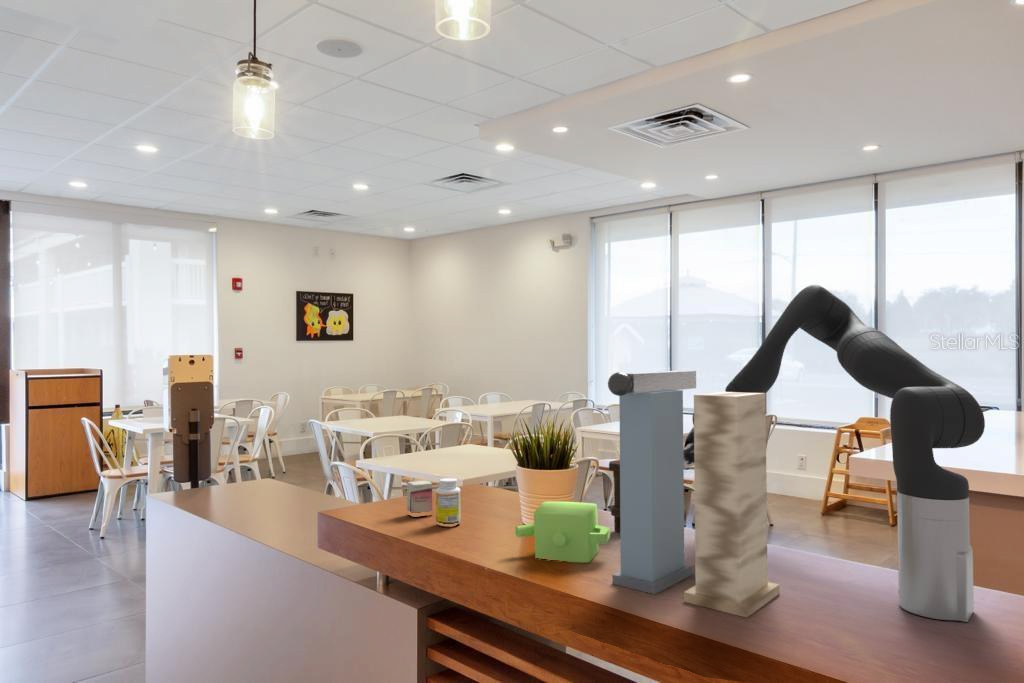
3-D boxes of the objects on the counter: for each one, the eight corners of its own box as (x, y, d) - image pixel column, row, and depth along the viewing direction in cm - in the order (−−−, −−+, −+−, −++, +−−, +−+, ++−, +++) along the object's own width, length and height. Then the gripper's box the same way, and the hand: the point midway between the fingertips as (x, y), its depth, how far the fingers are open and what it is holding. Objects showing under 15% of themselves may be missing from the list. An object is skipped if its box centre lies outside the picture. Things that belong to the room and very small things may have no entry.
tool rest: (779, 593, 110) (777, 393, 111) (746, 617, 101) (744, 397, 101) (719, 580, 117) (717, 391, 117) (683, 601, 107) (681, 394, 108)
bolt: (633, 535, 146) (632, 464, 146) (609, 534, 147) (608, 463, 147) (633, 528, 152) (633, 460, 152) (610, 527, 153) (610, 459, 153)
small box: (412, 518, 162) (412, 484, 162) (406, 514, 166) (406, 481, 166) (433, 516, 165) (432, 482, 165) (426, 512, 168) (426, 480, 169)
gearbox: (509, 562, 130) (507, 512, 129) (524, 545, 139) (522, 499, 139) (604, 569, 124) (602, 516, 124) (613, 551, 134) (611, 502, 133)
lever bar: (697, 389, 127) (697, 369, 127) (623, 396, 108) (623, 372, 108) (678, 389, 130) (678, 369, 130) (603, 396, 111) (603, 372, 111)
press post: (692, 574, 120) (690, 390, 121) (655, 594, 110) (653, 393, 111) (651, 565, 125) (650, 388, 126) (612, 583, 116) (611, 392, 116)
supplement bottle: (444, 520, 160) (444, 476, 160) (465, 523, 157) (465, 478, 157) (431, 526, 155) (431, 480, 155) (452, 529, 152) (452, 482, 152)
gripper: (748, 452, 136) (740, 479, 121) (678, 465, 142) (662, 493, 127) (737, 415, 136) (728, 438, 121) (667, 430, 142) (650, 454, 127)
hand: (694, 466), depth 124 cm, fingers open, 8 cm apart
